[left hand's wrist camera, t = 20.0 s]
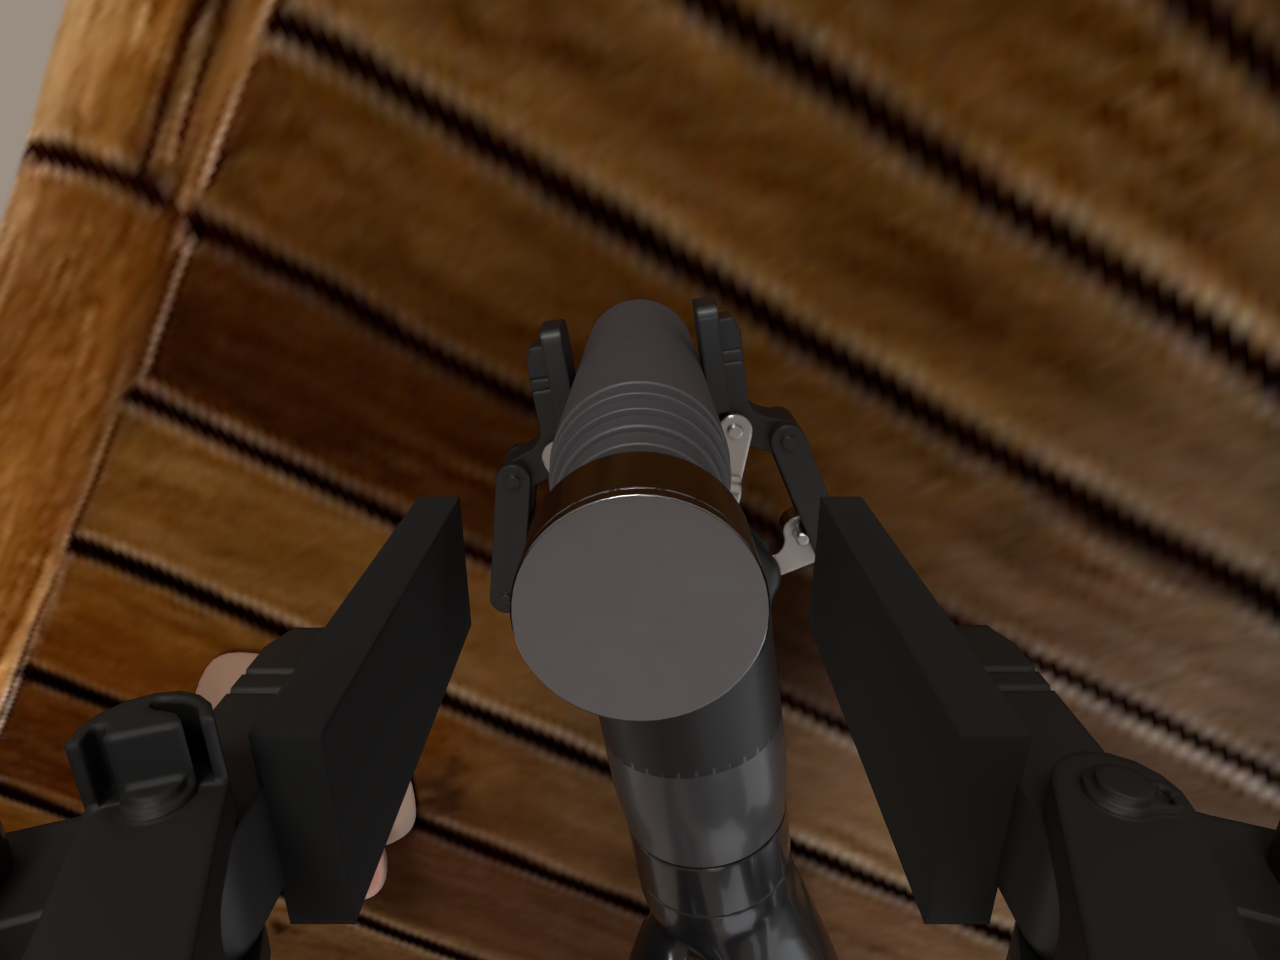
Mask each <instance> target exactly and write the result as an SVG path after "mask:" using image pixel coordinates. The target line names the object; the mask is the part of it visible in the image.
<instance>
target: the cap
mask: <svg viewBox="0 0 1280 960" xmlns="http://www.w3.org/2000/svg"><path fill="white" fill-rule="evenodd" d="M769 618H770V595H769V589H768V584H767V580H766V577H765V574H764V571H763V568H762V564H761V561H760V558H759V555H758V552H757V549H756V546H755V543H754V540H753V537H752V534H751V530H750V527H749V525H748V522H747V519H746V516H745V514H744V512H743V510H742V508H741V506H740V504H739V503H738V502H737V500H736V499H735V497H734V496H733V494H732V493H731V492H730V491H729V490H728V489H727V488H726V487H725V486H724V484H723V483H722V482H720V481H719V480H718V479H717V478H716V477H714V476H713V475H712V474H711V473H709V472H707V471H706V470H704V469H703V468H701V467H699V466H698V465H696V464H693V463H691V462H689V461H687V460H684V459H682V458H678V457H675V456H672V455H668V454H662V453H656V452H642V451H636V452H623V453H616V454H613V455H608V456H605V457H602V458H599V459H596V460H593V461H591V462H589V463H587V464H585V465H583V466H581V467H579V468H577V469H576V470H574V471H573V472H571V473H570V474H568V475H567V476H566V477H564V478H563V479H562V480H561V481H560V482H559V483H558V484H556V485H555V486H554V488H553V489H552V490H551V491H550V492H549V493H548V495H547V496H546V497H545V499H544V500H543V502H542V503H541V505H540V506H539V508H538V510H537V512H536V514H535V517H534V519H533V521H532V524H531V527H530V530H529V534H528V537H527V540H526V543H525V546H524V549H523V552H522V555H521V558H520V561H519V565H518V568H517V571H516V574H515V577H514V581H513V584H512V589H511V596H510V619H511V625H512V631H513V634H514V637H515V640H516V643H517V646H518V648H519V650H520V652H521V654H522V656H523V658H524V660H525V661H526V663H527V664H528V666H529V667H530V669H531V670H532V672H533V673H534V674H535V675H536V676H537V677H538V678H539V680H540V681H541V682H542V683H543V684H544V685H545V686H547V687H548V688H549V689H550V690H551V691H552V692H553V693H555V694H556V695H558V696H559V697H561V698H562V699H564V700H565V701H567V702H568V703H570V704H572V705H574V706H576V707H578V708H580V709H582V710H585V711H588V712H590V713H593V714H595V715H599V716H603V717H607V718H611V719H618V720H625V721H655V720H663V719H668V718H674V717H677V716H681V715H684V714H687V713H690V712H693V711H695V710H697V709H700V708H702V707H704V706H706V705H708V704H710V703H711V702H713V701H715V700H717V699H718V698H720V697H721V696H722V695H724V694H725V693H726V692H728V691H729V690H730V689H731V688H732V687H734V686H735V685H736V684H737V683H738V682H739V681H740V680H741V679H742V678H743V676H744V675H745V674H746V673H747V671H748V670H749V669H750V668H751V666H752V664H753V663H754V661H755V660H756V658H757V656H758V655H759V652H760V650H761V648H762V646H763V643H764V641H765V637H766V634H767V630H768V627H769Z"/></svg>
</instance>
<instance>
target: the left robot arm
mask: <svg viewBox="0 0 1280 960" xmlns="http://www.w3.org/2000/svg"><path fill="white" fill-rule="evenodd" d="M470 626H471V616H470V605H469V594H468V583H467V572H466V561H465V551H464V540H463V529H462V518H461V507H460V497H418V498H417V500H416V501H415V503H414V504H413V505H412V507H411V508H410V510H409V511H408V512H407V514H406V515H405V517H404V518H403V519H402V521H401V522H400V523H399V525H398V526H397V528H396V529H395V530H394V532H393V533H392V535H391V536H390V537H389V539H388V540H387V542H386V543H385V544H384V546H383V547H382V549H381V550H380V551H379V553H378V554H377V555H376V557H375V558H374V560H373V561H372V562H371V564H370V565H369V567H368V568H367V569H366V571H365V572H364V574H363V575H362V576H361V578H360V579H359V581H358V582H357V583H356V585H355V586H354V587H353V589H352V590H351V592H350V593H349V594H348V596H347V597H346V599H345V600H344V601H343V603H342V604H341V606H340V607H339V608H338V610H337V611H336V613H335V614H334V615H333V617H332V618H331V619H330V621H329V622H328V624H327V625H326V626H325V628H293V629H291V630H290V631H288V632H287V633H285V634H284V635H282V636H281V637H279V638H278V639H276V640H275V641H273V642H272V643H270V644H268V645H267V646H265V647H264V648H263V649H262V651H261V652H260V653H259V654H258V656H257V657H256V658H255V659H254V660H253V662H252V663H251V664H250V665H249V667H248V668H247V669H246V674H242V675H241V676H240V678H239V679H238V680H237V681H236V682H235V684H234V685H233V686H232V687H231V689H230V690H231V691H230V694H226V695H225V696H224V697H223V698H222V700H221V701H220V702H219V703H218V704H217V706H216V707H215V708H214V709H213V708H212V704H211V703H210V702H209V701H208V700H206V699H205V698H204V697H202V696H201V695H199V694H194V693H188V692H183V691H175V692H163V693H154V694H150V695H147V696H143V697H139V698H136V699H132V700H128V701H126V702H123V703H121V704H119V705H117V706H115V707H112V708H110V709H108V710H106V711H104V712H102V713H100V714H98V715H97V716H95V717H94V718H93V719H91V720H90V721H88V722H87V723H85V724H84V725H83V726H81V727H80V728H78V729H77V730H76V732H75V733H74V734H73V735H72V737H71V738H70V739H69V740H68V741H67V743H66V744H65V745H64V748H65V751H66V754H67V757H68V760H69V763H70V766H71V769H72V772H73V775H74V778H75V781H76V784H77V787H78V790H79V793H80V796H81V799H82V802H83V805H84V808H85V813H84V815H81V816H78V817H74V818H71V819H66V820H62V821H57V822H53V823H48V824H44V825H39V826H35V827H31V828H26V829H22V830H17V831H13V832H8V833H5V831H4V829H3V826H2V824H1V821H0V960H270V955H271V952H270V945H269V939H268V934H267V930H266V926H265V922H266V920H267V918H268V917H269V915H270V913H271V911H272V909H273V907H274V905H275V903H276V901H277V899H278V897H279V895H280V893H281V891H282V889H283V893H284V897H285V901H286V906H287V910H288V915H289V919H290V923H291V924H355V923H356V921H357V918H358V916H359V913H360V910H361V908H362V905H363V903H364V900H365V898H366V895H367V892H368V890H369V887H370V885H371V882H372V879H373V877H374V874H375V872H376V869H377V867H378V864H379V861H380V859H381V856H382V854H383V851H384V848H385V846H386V843H387V841H388V838H389V836H390V833H391V830H392V828H393V825H394V823H395V820H396V817H397V815H398V812H399V810H400V807H401V805H402V802H403V799H404V797H405V794H406V792H407V789H408V787H409V784H410V781H411V779H412V776H413V774H414V771H415V768H416V766H417V763H418V761H419V758H420V756H421V753H422V750H423V748H424V745H425V743H426V740H427V737H428V735H429V732H430V730H431V727H432V725H433V722H434V719H435V717H436V714H437V712H438V709H439V706H440V704H441V701H442V699H443V696H444V694H445V691H446V688H447V686H448V683H449V681H450V678H451V676H452V673H453V670H454V668H455V665H456V663H457V660H458V657H459V655H460V652H461V650H462V647H463V645H464V642H465V639H466V637H467V634H468V632H469V629H470ZM809 626H810V629H811V632H812V634H813V637H814V639H815V642H816V645H817V647H818V650H819V652H820V655H821V657H822V660H823V663H824V665H825V668H826V670H827V673H828V676H829V678H830V681H831V683H832V686H833V688H834V691H835V694H836V696H837V699H838V701H839V704H840V706H841V709H842V712H843V714H844V717H845V719H846V722H847V725H848V727H849V730H850V732H851V735H852V737H853V740H854V743H855V745H856V748H857V750H858V753H859V756H860V758H861V761H862V763H863V766H864V768H865V771H866V774H867V776H868V779H869V781H870V784H871V787H872V789H873V792H874V794H875V797H876V799H877V802H878V805H879V807H880V810H881V812H882V815H883V818H884V820H885V823H886V825H887V828H888V830H889V833H890V836H891V838H892V841H893V843H894V846H895V848H896V851H897V854H898V856H899V859H900V861H901V864H902V867H903V869H904V872H905V874H906V877H907V879H908V882H909V885H910V887H911V890H912V892H913V895H914V898H915V900H916V903H917V905H918V908H919V910H920V913H921V916H922V918H923V921H924V923H925V924H989V923H990V919H991V915H992V910H993V906H994V901H995V897H996V892H997V888H998V887H999V889H1000V891H1001V893H1002V895H1003V897H1004V899H1005V901H1006V903H1007V905H1008V907H1009V909H1010V911H1011V913H1012V915H1013V916H1014V918H1015V920H1016V922H1015V926H1014V930H1013V934H1012V938H1011V942H1010V946H1009V950H1008V954H1007V959H1006V960H1280V821H1279V824H1278V826H1277V829H1276V830H1273V829H1269V828H1264V827H1260V826H1256V825H1251V824H1247V823H1242V822H1238V821H1233V820H1229V819H1224V818H1220V817H1215V816H1211V815H1207V814H1203V813H1200V812H1196V811H1195V810H1194V808H1193V807H1192V805H1191V804H1190V803H1189V801H1188V800H1187V798H1186V797H1185V795H1184V794H1183V793H1182V791H1180V790H1179V789H1178V788H1177V787H1175V786H1174V785H1173V784H1172V783H1170V782H1169V781H1168V780H1167V779H1165V778H1164V777H1163V776H1162V775H1160V774H1158V773H1156V772H1155V771H1153V770H1151V769H1149V768H1147V767H1145V766H1143V765H1141V764H1139V763H1137V762H1135V761H1132V760H1129V759H1126V758H1122V757H1119V756H1116V755H1113V754H1109V753H1105V752H1104V751H1103V749H1102V748H1101V747H1100V746H1099V745H1098V743H1097V742H1096V741H1095V740H1094V738H1093V737H1092V736H1091V735H1090V734H1089V732H1088V731H1087V730H1086V729H1085V728H1084V726H1083V725H1082V724H1081V723H1080V722H1079V720H1078V719H1077V718H1076V717H1075V715H1074V714H1073V713H1072V712H1071V711H1070V709H1069V708H1068V707H1067V706H1066V705H1065V703H1064V702H1063V701H1062V700H1061V699H1060V697H1059V696H1058V695H1057V694H1056V692H1055V691H1051V690H1050V685H1049V684H1048V683H1047V682H1046V680H1045V679H1044V678H1043V677H1042V675H1041V674H1040V673H1039V672H1035V667H1034V666H1033V665H1032V663H1031V662H1030V661H1029V660H1028V659H1027V657H1026V656H1025V655H1024V654H1023V652H1022V651H1021V650H1020V649H1019V648H1018V646H1017V645H1016V644H1014V643H1013V642H1011V641H1010V640H1008V639H1007V638H1005V637H1004V636H1002V635H1000V634H999V633H997V632H996V631H994V630H993V629H991V628H990V627H988V626H987V625H953V624H952V622H951V621H950V619H949V618H948V617H947V615H946V614H945V613H944V611H943V610H942V608H941V607H940V606H939V604H938V603H937V601H936V600H935V599H934V597H933V596H932V594H931V593H930V592H929V590H928V589H927V587H926V586H925V585H924V583H923V582H922V581H921V579H920V578H919V576H918V575H917V574H916V572H915V571H914V569H913V568H912V567H911V565H910V564H909V562H908V561H907V560H906V558H905V557H904V555H903V554H902V553H901V551H900V550H899V549H898V547H897V546H896V544H895V543H894V542H893V540H892V539H891V537H890V536H889V535H888V533H887V532H886V530H885V529H884V528H883V526H882V525H881V523H880V522H879V521H878V519H877V518H876V517H875V515H874V514H873V512H872V511H871V510H870V508H869V507H868V505H867V504H866V503H865V501H864V500H863V498H862V497H820V507H819V518H818V529H817V540H816V551H815V561H814V572H813V583H812V594H811V605H810V616H809Z"/></svg>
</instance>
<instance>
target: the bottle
mask: <svg viewBox="0 0 1280 960" xmlns="http://www.w3.org/2000/svg"><path fill="white" fill-rule="evenodd" d="M636 451H642V452H656V453H662V454H668V455H672V456H675V457H678V458H682V459H684V460H687V461H689V462H691V463H693V464H696V465H698V466H699V467H701V468H703V469H704V470H706V471H707V472H709V473H711V474H712V475H713V476H714V477H716V478H717V479H718V480H719V481H720V482H722V483H723V484H724V486H725V487H726V488H727V489H728V490H729V491H730V488H731V465H730V454H729V448H728V444H727V440H726V437H725V434H724V431H723V429H722V426H721V423H720V420H719V417H718V414H717V411H716V408H715V405H714V402H713V400H712V397H711V394H710V391H709V388H708V385H707V382H706V379H705V376H704V373H703V371H702V368H701V365H700V362H699V359H698V356H697V353H696V350H695V347H694V344H693V342H692V339H691V336H690V333H689V331H688V329H687V327H686V325H685V323H684V322H683V320H682V319H681V318H680V317H679V316H678V315H677V314H676V313H675V312H674V311H673V310H671V309H670V308H669V307H667V306H665V305H663V304H661V303H659V302H655V301H652V300H646V299H634V300H628V301H625V302H621V303H619V304H617V305H615V306H613V307H611V308H610V309H609V310H607V311H606V312H605V313H604V314H603V315H602V316H601V317H600V318H599V319H598V320H597V322H596V323H595V325H594V327H593V329H592V331H591V333H590V336H589V339H588V342H587V344H586V347H585V350H584V353H583V356H582V359H581V362H580V365H579V368H578V371H577V374H576V376H575V379H574V382H573V385H572V388H571V391H570V394H569V397H568V400H567V403H566V405H565V408H564V411H563V414H562V417H561V420H560V423H559V426H558V429H557V432H556V434H555V437H554V440H553V444H552V448H551V454H550V465H549V488H550V491H551V490H552V489H553V488H554V486H555V485H556V484H558V483H559V482H560V481H561V480H562V479H563V478H564V477H566V476H567V475H568V474H570V473H571V472H573V471H574V470H576V469H577V468H579V467H581V466H583V465H585V464H587V463H589V462H591V461H593V460H596V459H599V458H602V457H605V456H608V455H613V454H616V453H623V452H636Z"/></svg>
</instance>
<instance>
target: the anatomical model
mask: <svg viewBox="0 0 1280 960" xmlns="http://www.w3.org/2000/svg"><path fill="white" fill-rule="evenodd" d="M257 656H258V654H256V653H247V652H236V653H227V654H223V655H221V656H218V657H217V658H215V659H214V660H213V661H212V662H211V663H210V664H209V665H208V667H207V668H206V670H205V671H204V673H203V675H202V677H201V679H200V682H199V685H198V687H197V690H196V693H195V694H199V695H201V696H202V697H204V698H205V699H206V700H208V701H209V702H210V703H211V704H212V708H213V709H214V708H215V707H216V706H217V704H218V703H219V702H220V701H221V700H222V698H223V697H224V696H225V695H226V694H230V691H231V690H230V689H231V687H232V686H233V685H234V684H235V682H236V681H237V680H238V679H239V678H240V676H241V675H242V674H246V669H247V668H248V667H249V665H250V664H251V663H252V662H253V660H254V659H255V658H256V657H257ZM415 818H416V805H415V796H414V791H413V787H412V783H411V781H410V784H409V787H408V789H407V792H406V794H405V797H404V799H403V802H402V805H401V807H400V810H399V812H398V815H397V817H396V820H395V823H394V825H393V828H392V830H391V833H390V836H389V838H388V841H387V843H386V845H388V844H391V843H393V842H395V841H397V840H399V839H400V838H402V837H403V836H405V835H406V834H407V833H408V832H409V831H410V830H411V828H412V826H413V824H414V822H415ZM386 874H387V857H386V851H385V848H384V851H383V854H382V856H381V859H380V861H379V864H378V867H377V869H376V872H375V874H374V877H373V879H372V882H371V885H370V887H369V890H368V892H367V895H366V898H365V899H368V898H370V897H372V896H374V895H375V894H377V893H378V892H379V891H380V889H381V888H382V886H383V884H384V882H385V879H386Z"/></svg>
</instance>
